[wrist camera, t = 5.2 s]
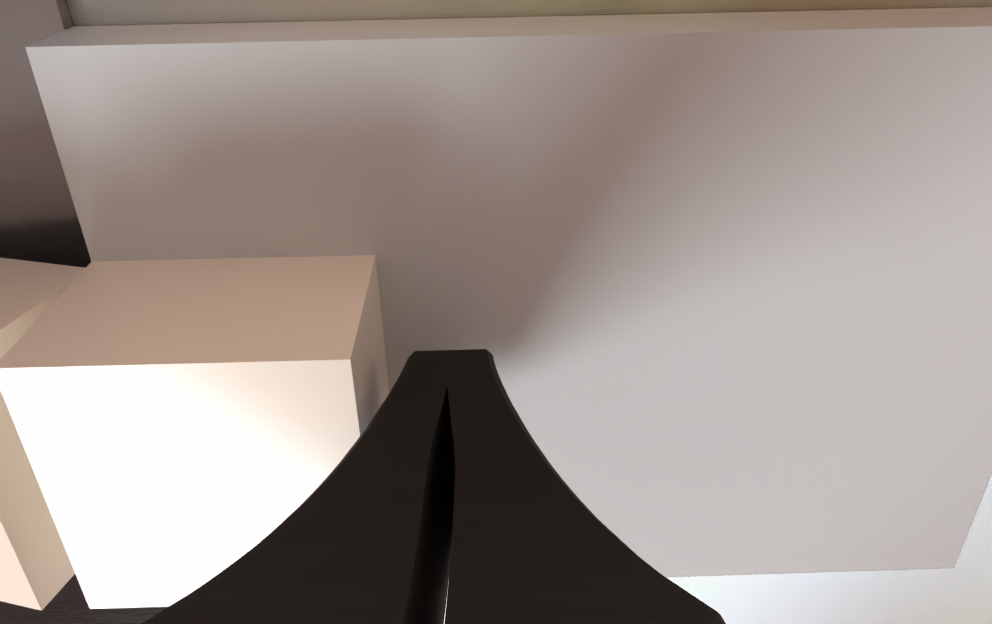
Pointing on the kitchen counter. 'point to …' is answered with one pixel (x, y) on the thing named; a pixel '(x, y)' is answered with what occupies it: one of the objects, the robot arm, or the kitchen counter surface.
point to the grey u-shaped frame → (40, 229)
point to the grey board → (612, 241)
